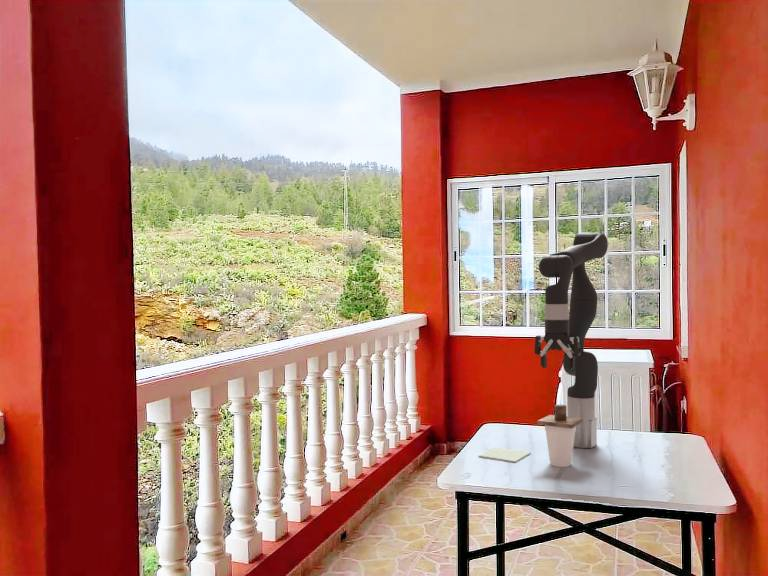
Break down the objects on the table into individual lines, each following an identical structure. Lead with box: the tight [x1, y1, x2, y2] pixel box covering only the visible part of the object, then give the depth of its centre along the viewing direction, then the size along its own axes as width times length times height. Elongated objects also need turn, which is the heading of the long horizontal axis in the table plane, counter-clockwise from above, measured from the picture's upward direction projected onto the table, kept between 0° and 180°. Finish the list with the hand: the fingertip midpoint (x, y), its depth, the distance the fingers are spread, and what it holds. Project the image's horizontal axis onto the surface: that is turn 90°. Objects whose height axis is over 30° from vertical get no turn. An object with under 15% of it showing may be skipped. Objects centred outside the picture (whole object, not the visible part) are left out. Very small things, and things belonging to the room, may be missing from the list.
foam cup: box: [544, 425, 576, 468], centre depth 210 cm, size 10×9×13 cm
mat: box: [478, 446, 531, 464], centre depth 221 cm, size 13×13×1 cm
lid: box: [537, 404, 583, 429], centre depth 210 cm, size 11×11×6 cm
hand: (557, 368), depth 211 cm, fingers open, 8 cm apart
